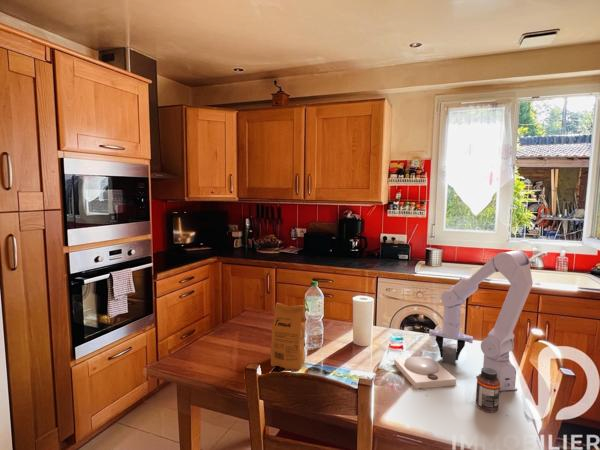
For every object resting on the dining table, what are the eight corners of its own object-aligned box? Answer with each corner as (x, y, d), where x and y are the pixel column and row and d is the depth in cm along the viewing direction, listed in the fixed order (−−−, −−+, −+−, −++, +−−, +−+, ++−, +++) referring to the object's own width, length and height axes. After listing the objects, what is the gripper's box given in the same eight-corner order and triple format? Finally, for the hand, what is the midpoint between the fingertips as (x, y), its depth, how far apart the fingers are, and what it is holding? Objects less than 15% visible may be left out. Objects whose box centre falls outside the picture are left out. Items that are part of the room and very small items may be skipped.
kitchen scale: (455, 385, 116) (456, 376, 115) (415, 388, 113) (416, 380, 113) (429, 361, 131) (430, 354, 131) (394, 363, 129) (394, 356, 129)
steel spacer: (455, 360, 133) (456, 344, 132) (455, 365, 129) (456, 349, 128) (442, 357, 135) (443, 342, 134) (442, 362, 130) (443, 347, 130)
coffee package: (276, 354, 135) (277, 297, 133) (308, 359, 131) (309, 301, 129) (266, 366, 126) (266, 306, 123) (299, 373, 122) (300, 310, 120)
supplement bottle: (478, 398, 108) (480, 363, 107) (500, 406, 105) (503, 369, 104) (472, 407, 104) (475, 370, 103) (495, 416, 100) (498, 377, 99)
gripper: (473, 321, 131) (470, 357, 132) (431, 315, 137) (429, 349, 138) (473, 328, 124) (471, 365, 126) (429, 321, 130) (427, 357, 132)
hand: (449, 357), depth 131 cm, fingers closed on steel spacer, 4 cm apart
